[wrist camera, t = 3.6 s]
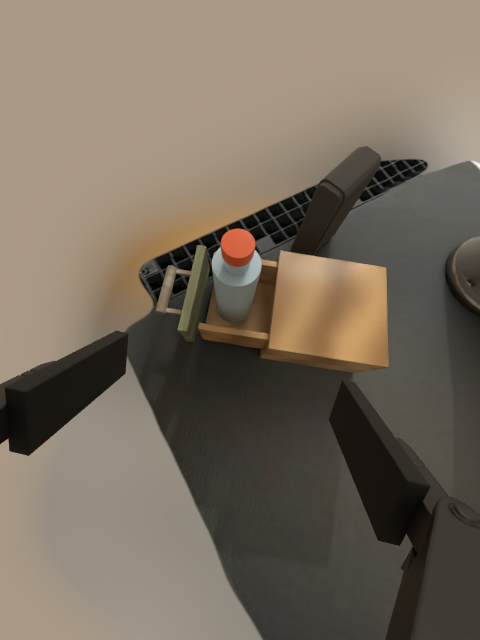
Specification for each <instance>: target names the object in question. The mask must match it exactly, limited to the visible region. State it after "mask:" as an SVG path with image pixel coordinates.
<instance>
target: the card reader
mask: <svg viewBox="0 0 480 640" xmlns="http://www.w3.org/2000/svg"><path fill="white" fill-rule="evenodd" d="M380 162H381V157H380V155H379V154H378V153H376V152H375V151H373V150H372V149H370V148H368V147H367V146H365V147H360V148H357V149H356V150H355V151H354V152H352V153H351V154H350V155H349V156H348V157H347V158H346V159H345V160H344V161H342V162H341V163H340V164H339V165H338V166H337V167H336V168H335V169H334V170H332V171H331V172H330V173H329V174H328V175H327V176H326V177H325V178H324V179H322V180H321V182H320V183H319V185H318V187H317V189H316V192H315V194H314V196H313V198H312V201H311V203H310V205H309V208H308V210H307V212H306V215H305V217H304V219H303V222H302V224H301V226H300V229H299V231H298V233H297V236H296V238H295V240H294V243H293V245H292V248H291V252H292V253H298V254H305V255H311V256H313V255H314V254H315V253H316V252H317V251H318V250H319V249H320V248H321V247H322V246H323V245H324V244H325V243H326V242H327V241H328V240H329V239H330V238H331V237H332V236H333V235H334V234H335V233H336V231H337V230H338V228H339V227H340V225H341V224H342V222H343V221H344V219H345V218H346V216H347V215H348V213H349V212H350V210H351V209H352V207H353V206H354V204H355V203H356V201H357V200H358V198H359V197H360V195H361V194H362V192H363V191H364V189H365V188H366V187H367V185H368V184H369V182H370V181H371V179H372V178H373V176H374V175H375V173H376V172H377V170H378V168H379V166H380Z"/></svg>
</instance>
